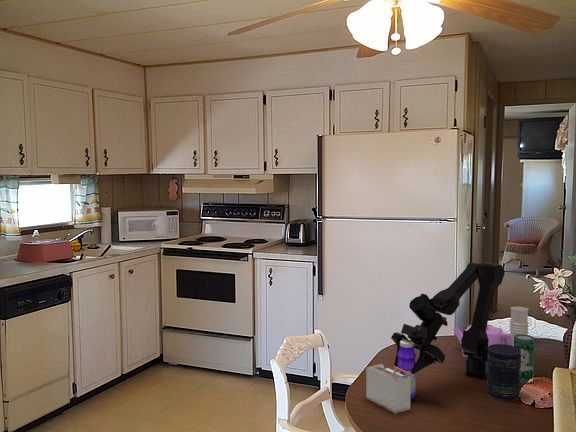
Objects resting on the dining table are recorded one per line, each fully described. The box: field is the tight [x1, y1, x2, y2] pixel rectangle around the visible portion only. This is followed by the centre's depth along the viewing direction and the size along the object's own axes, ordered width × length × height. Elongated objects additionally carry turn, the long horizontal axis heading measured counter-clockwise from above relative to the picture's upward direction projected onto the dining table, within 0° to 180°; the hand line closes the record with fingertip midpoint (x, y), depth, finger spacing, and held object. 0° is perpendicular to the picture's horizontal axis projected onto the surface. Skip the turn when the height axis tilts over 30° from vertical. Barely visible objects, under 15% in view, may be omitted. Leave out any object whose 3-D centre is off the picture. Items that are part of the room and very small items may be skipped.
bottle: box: [396, 339, 417, 400], centre depth 169 cm, size 7×6×17 cm
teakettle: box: [452, 323, 513, 359], centre depth 207 cm, size 17×17×12 cm
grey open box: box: [365, 363, 411, 415], centre depth 165 cm, size 6×13×10 cm, turn 33°
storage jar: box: [486, 343, 521, 402], centre depth 171 cm, size 10×10×15 cm
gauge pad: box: [384, 366, 410, 378], centre depth 166 cm, size 2×11×10 cm, turn 33°
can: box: [514, 334, 536, 385], centre depth 182 cm, size 6×6×15 cm
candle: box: [509, 306, 530, 346], centre depth 218 cm, size 7×7×15 cm
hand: (403, 369), depth 168 cm, fingers closed on bottle, 7 cm apart
